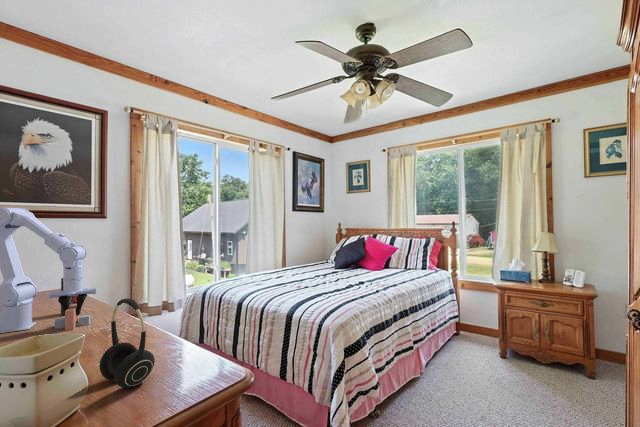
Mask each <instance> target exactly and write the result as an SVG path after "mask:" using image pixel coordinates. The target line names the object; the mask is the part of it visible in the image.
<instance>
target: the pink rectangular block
mask: <svg viewBox="0 0 640 427" xmlns="http://www.w3.org/2000/svg"><path fill="white" fill-rule="evenodd" d="M80 316H81V314H80V315H78V316H77V304H72V305H71V306H70V307H69V308H68V309H67V310H66V311H65V316H64V318H65V328H64V331H72V330H73V331H74V330H75V329H76V327H77V326H76V322H79V317H80Z"/></svg>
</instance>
